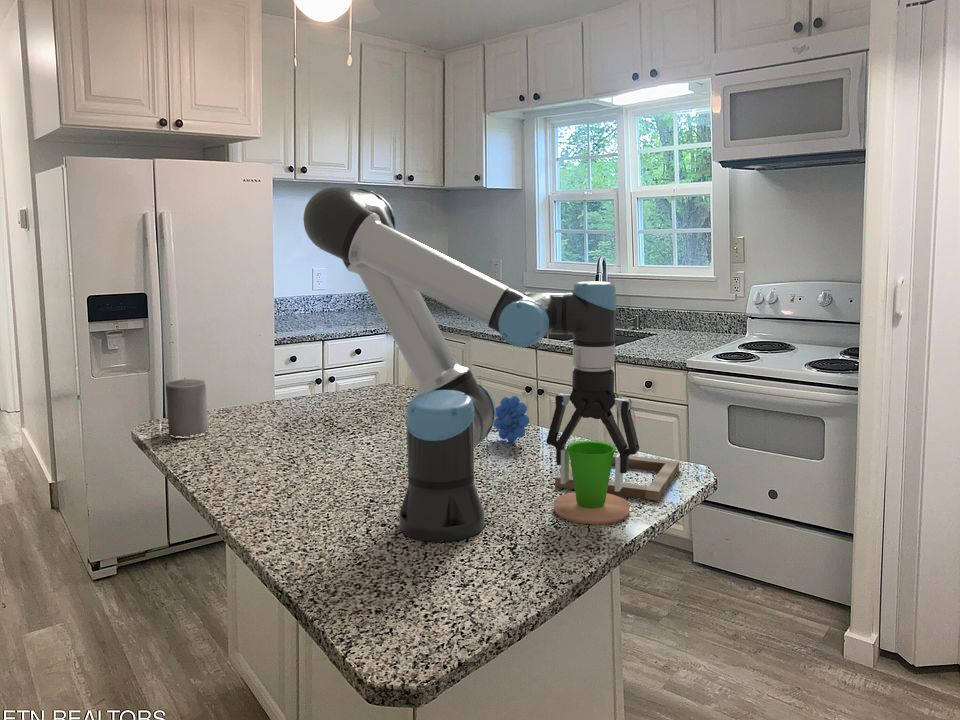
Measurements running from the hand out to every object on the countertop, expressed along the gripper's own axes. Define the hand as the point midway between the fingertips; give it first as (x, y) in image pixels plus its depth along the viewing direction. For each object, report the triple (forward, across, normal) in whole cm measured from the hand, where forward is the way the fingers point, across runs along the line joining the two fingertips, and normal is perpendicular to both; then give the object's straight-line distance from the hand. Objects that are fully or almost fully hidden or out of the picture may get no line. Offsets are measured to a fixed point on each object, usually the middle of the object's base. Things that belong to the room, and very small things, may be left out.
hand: (591, 485), depth 142 cm
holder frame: (+5, 0, -20) cm, 21 cm away
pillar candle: (+5, +111, -10) cm, 112 cm away
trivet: (+5, 0, 0) cm, 5 cm away
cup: (+4, 0, 0) cm, 4 cm away
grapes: (+5, +31, -37) cm, 49 cm away
